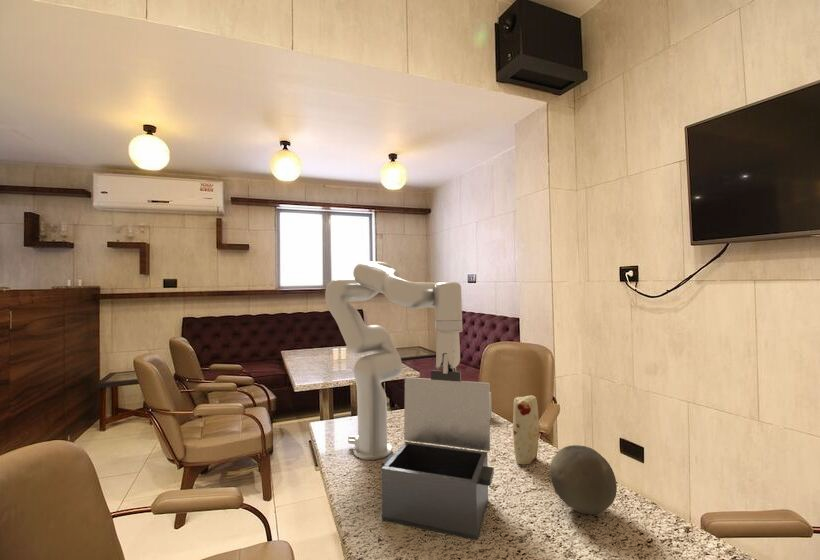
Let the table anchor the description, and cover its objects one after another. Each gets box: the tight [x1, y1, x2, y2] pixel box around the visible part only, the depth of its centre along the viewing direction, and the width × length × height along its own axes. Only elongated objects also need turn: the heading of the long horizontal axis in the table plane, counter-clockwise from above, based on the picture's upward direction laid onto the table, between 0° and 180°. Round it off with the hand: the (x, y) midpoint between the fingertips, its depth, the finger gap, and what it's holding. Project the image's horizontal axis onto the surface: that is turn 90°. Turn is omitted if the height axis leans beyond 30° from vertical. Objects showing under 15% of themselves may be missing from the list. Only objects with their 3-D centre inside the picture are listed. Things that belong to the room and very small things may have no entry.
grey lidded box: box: [380, 441, 495, 541], centre depth 92 cm, size 26×16×12 cm, turn 70°
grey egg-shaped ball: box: [549, 444, 618, 515], centre depth 90 cm, size 14×14×15 cm
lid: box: [403, 369, 491, 452], centre depth 102 cm, size 23×19×1 cm
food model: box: [512, 394, 540, 465], centre depth 117 cm, size 10×7×20 cm
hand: (450, 392), depth 106 cm, fingers closed
